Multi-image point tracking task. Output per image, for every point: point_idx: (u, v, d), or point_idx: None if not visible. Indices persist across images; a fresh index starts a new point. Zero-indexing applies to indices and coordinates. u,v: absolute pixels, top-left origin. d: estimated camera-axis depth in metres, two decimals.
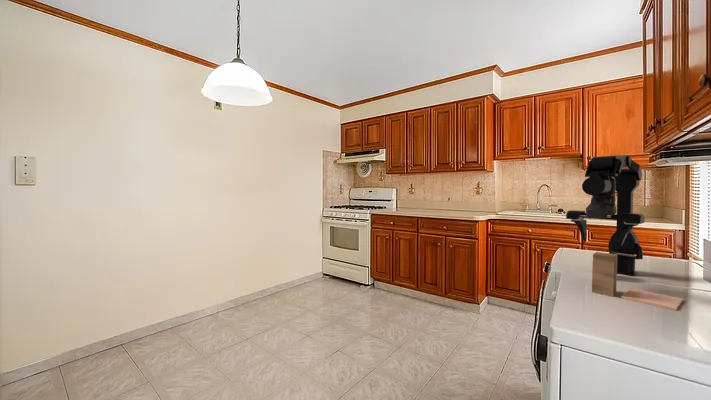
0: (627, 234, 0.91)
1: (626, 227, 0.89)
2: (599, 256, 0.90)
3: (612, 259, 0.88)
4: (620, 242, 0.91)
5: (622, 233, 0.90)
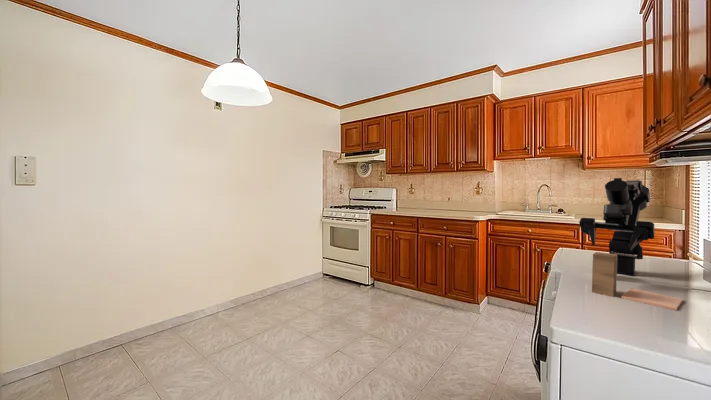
0: (636, 244, 0.93)
1: (638, 231, 0.92)
2: (599, 256, 0.90)
3: (612, 259, 0.88)
4: (630, 245, 0.92)
5: (633, 237, 0.93)
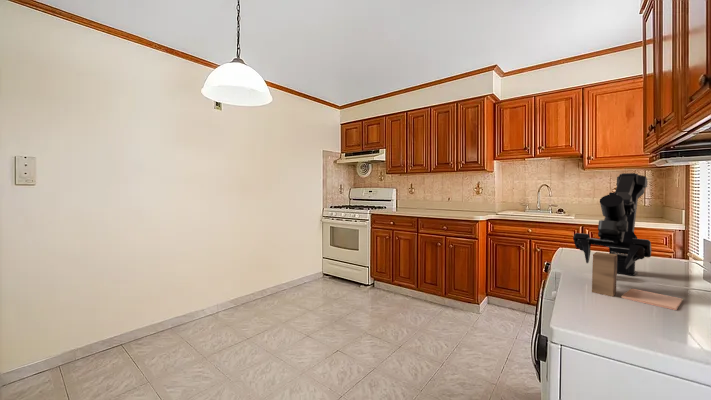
0: (632, 262, 0.89)
1: (634, 249, 0.88)
2: (599, 256, 0.90)
3: (612, 259, 0.88)
4: (625, 264, 0.88)
5: (629, 255, 0.89)
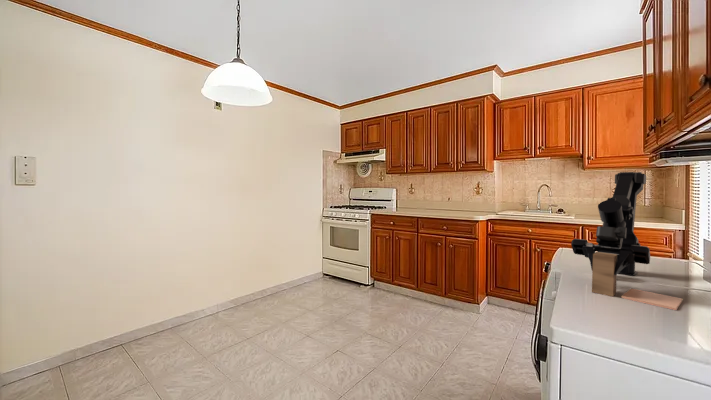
0: (622, 268, 0.89)
1: (624, 255, 0.88)
2: (599, 256, 0.90)
3: (612, 259, 0.88)
4: (615, 270, 0.88)
5: (619, 261, 0.89)
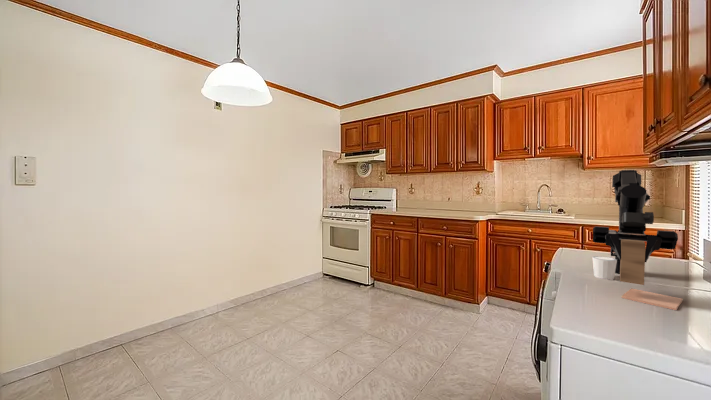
0: (649, 255, 0.86)
1: (652, 241, 0.85)
2: (629, 243, 0.86)
3: (643, 246, 0.84)
4: (645, 257, 0.85)
5: (647, 248, 0.86)
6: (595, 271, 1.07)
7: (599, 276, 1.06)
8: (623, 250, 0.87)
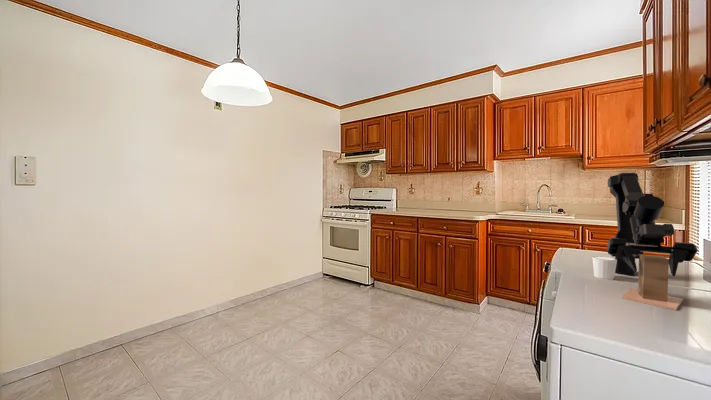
0: None
1: (679, 254, 0.83)
2: (651, 259, 0.84)
3: (666, 262, 0.82)
4: (674, 271, 0.82)
5: (675, 261, 0.83)
6: (595, 271, 1.07)
7: (599, 276, 1.06)
8: (646, 266, 0.84)
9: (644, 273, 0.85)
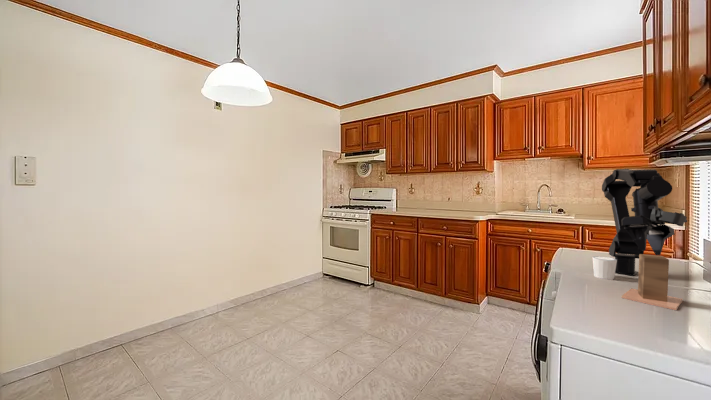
0: None
1: (667, 237, 0.95)
2: (651, 259, 0.84)
3: (667, 262, 0.82)
4: (660, 252, 0.95)
5: (662, 243, 0.95)
6: (595, 271, 1.07)
7: (599, 276, 1.06)
8: (646, 266, 0.84)
9: (644, 273, 0.85)
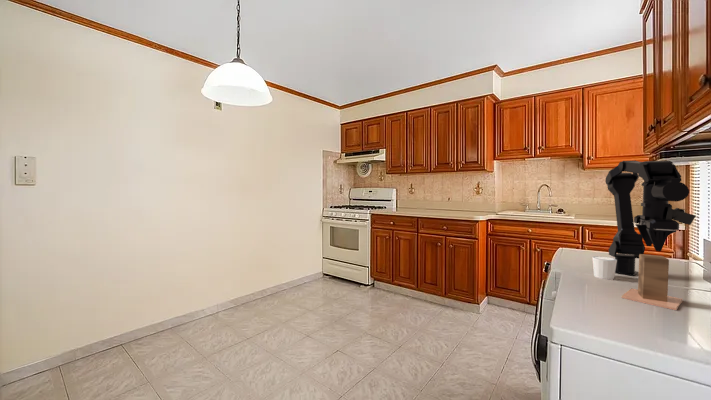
0: None
1: None
2: (651, 259, 0.84)
3: (667, 262, 0.82)
4: (651, 243, 0.98)
5: None
6: (595, 271, 1.07)
7: (599, 276, 1.06)
8: (646, 266, 0.84)
9: (644, 273, 0.85)
